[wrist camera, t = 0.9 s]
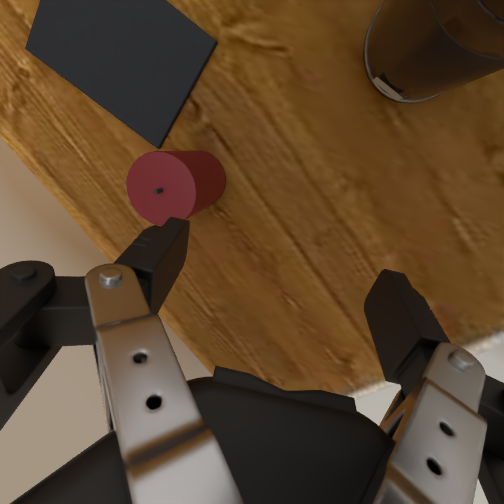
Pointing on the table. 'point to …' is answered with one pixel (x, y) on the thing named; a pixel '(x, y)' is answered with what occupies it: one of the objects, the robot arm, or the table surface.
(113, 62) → the mat
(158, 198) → the candle
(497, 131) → the table surface
